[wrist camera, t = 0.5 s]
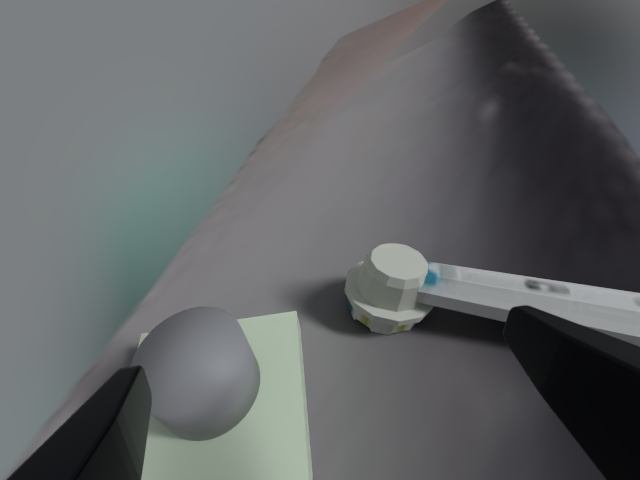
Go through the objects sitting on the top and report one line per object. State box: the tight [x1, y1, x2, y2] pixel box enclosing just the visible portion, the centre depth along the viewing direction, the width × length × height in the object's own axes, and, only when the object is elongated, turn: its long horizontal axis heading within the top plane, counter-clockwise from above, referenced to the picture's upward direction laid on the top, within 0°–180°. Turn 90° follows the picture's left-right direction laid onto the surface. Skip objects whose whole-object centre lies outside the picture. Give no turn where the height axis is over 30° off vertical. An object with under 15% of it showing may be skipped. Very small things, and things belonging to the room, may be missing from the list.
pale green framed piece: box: [130, 307, 313, 480], centre depth 16 cm, size 19×11×6 cm, turn 7°
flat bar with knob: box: [344, 243, 640, 347], centre depth 22 cm, size 5×7×25 cm
